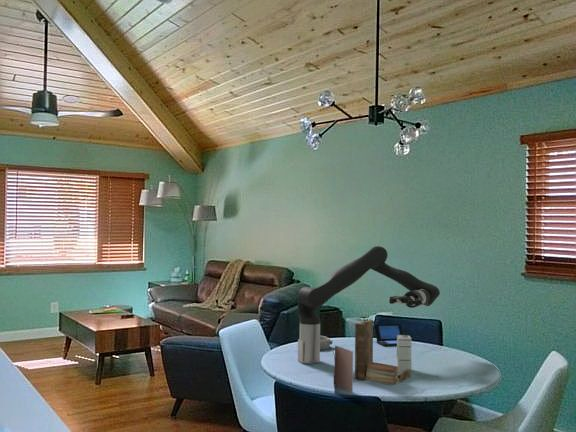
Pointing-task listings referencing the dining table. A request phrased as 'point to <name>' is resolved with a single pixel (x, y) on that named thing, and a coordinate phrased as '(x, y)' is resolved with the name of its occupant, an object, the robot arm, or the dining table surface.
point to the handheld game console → (387, 334)
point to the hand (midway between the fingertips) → (399, 302)
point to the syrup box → (403, 352)
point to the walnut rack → (367, 351)
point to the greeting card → (343, 368)
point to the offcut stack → (382, 373)
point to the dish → (325, 342)
